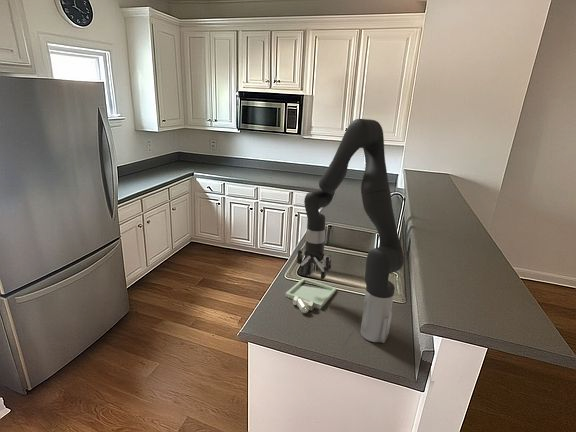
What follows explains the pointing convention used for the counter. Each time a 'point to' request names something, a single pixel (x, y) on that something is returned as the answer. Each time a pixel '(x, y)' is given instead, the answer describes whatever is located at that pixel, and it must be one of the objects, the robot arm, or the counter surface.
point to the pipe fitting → (303, 304)
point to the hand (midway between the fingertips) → (312, 276)
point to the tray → (311, 292)
